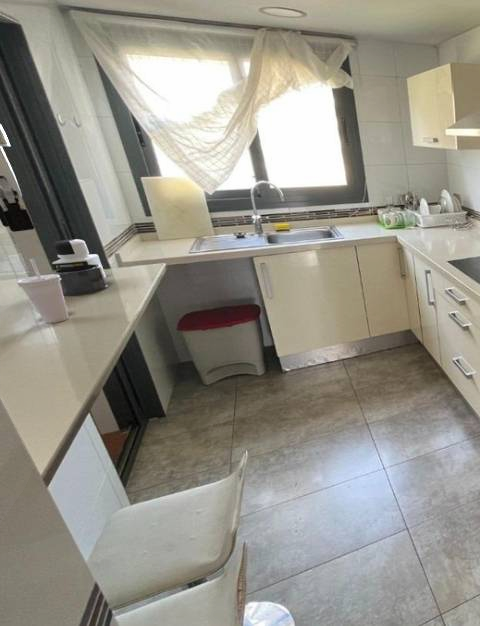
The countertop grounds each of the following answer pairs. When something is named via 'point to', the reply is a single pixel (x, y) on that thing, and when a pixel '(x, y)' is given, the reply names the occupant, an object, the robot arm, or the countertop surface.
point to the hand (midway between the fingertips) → (19, 227)
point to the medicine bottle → (74, 254)
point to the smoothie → (45, 295)
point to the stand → (81, 279)
